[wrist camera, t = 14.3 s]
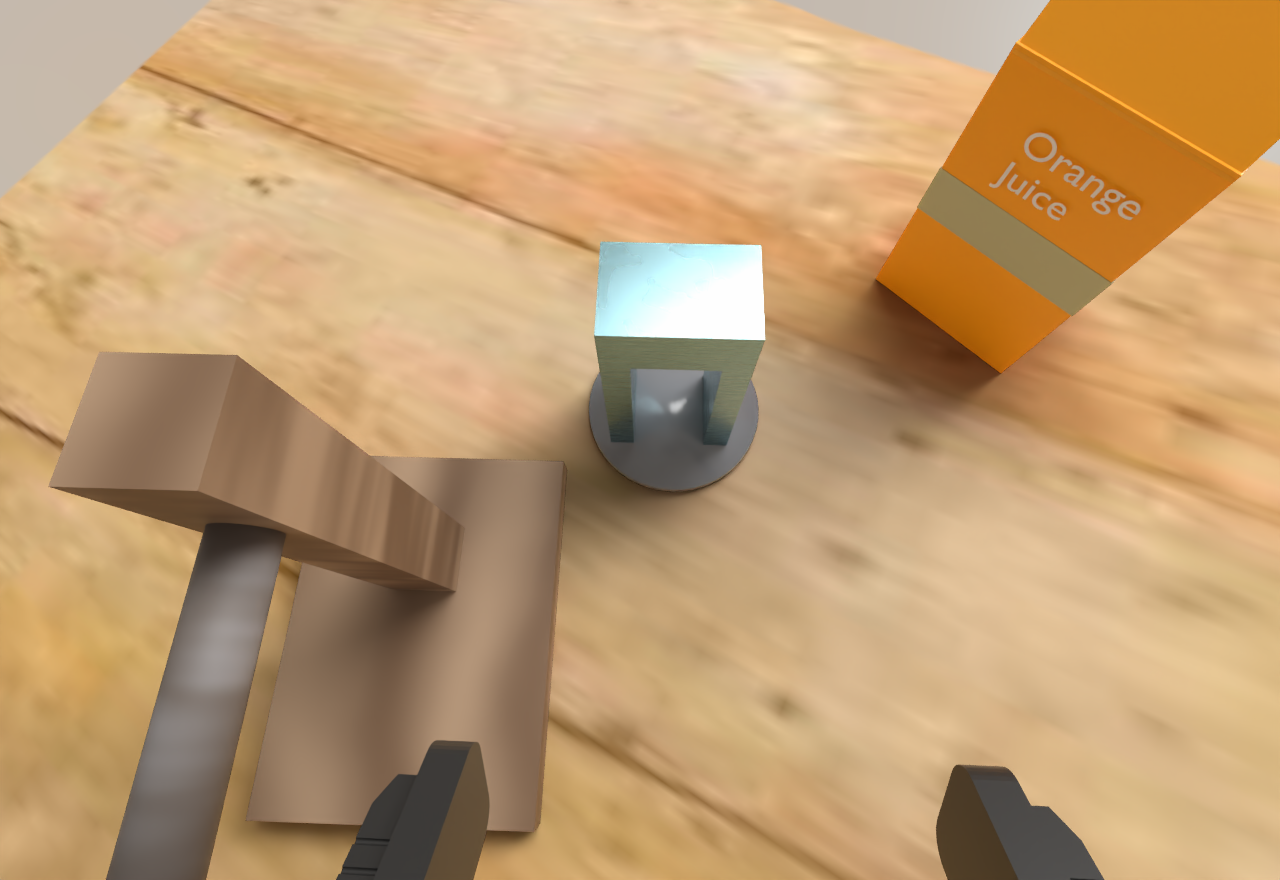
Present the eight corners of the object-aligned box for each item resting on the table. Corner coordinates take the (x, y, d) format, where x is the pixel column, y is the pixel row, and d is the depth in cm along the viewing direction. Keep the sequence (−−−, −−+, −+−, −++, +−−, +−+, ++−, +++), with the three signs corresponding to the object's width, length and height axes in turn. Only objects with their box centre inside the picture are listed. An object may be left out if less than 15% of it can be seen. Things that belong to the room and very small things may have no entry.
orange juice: (1000, 376, 34) (1445, 12, 15) (872, 279, 36) (1121, -143, 17) (1078, 290, 36) (1561, -129, 17) (952, 203, 38) (1254, -253, 19)
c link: (725, 376, 33) (761, 245, 23) (726, 445, 32) (764, 339, 21) (614, 373, 33) (600, 241, 23) (611, 442, 32) (594, 335, 22)
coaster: (753, 340, 35) (755, 334, 34) (759, 494, 31) (761, 491, 31) (594, 336, 35) (594, 330, 34) (584, 489, 32) (583, 486, 31)
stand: (566, 470, 32) (467, 225, 14) (540, 822, 27) (321, 1148, 9) (340, 463, 32) (-39, 215, 14) (266, 812, 27) (-492, 1105, 9)
